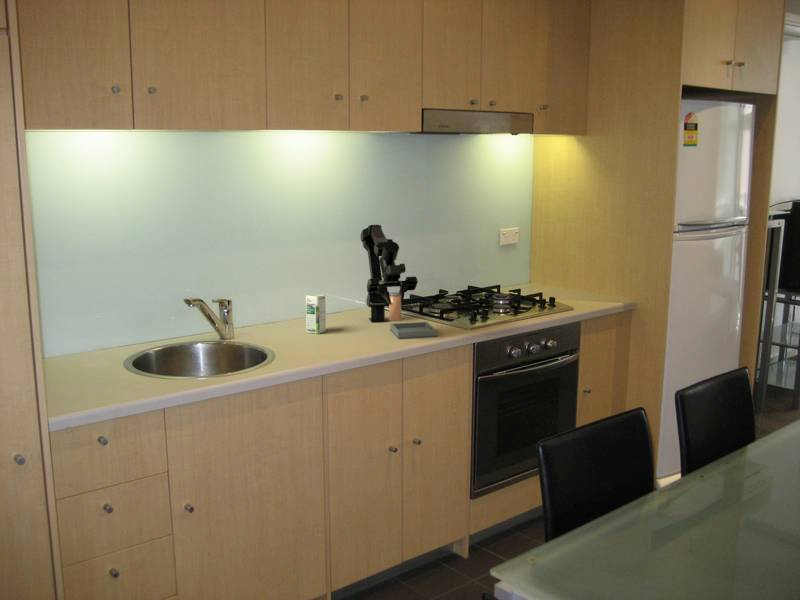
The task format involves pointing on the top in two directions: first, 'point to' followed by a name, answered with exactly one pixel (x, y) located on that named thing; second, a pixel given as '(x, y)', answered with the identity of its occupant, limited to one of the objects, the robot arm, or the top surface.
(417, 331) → the tray
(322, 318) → the syrup box
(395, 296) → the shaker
